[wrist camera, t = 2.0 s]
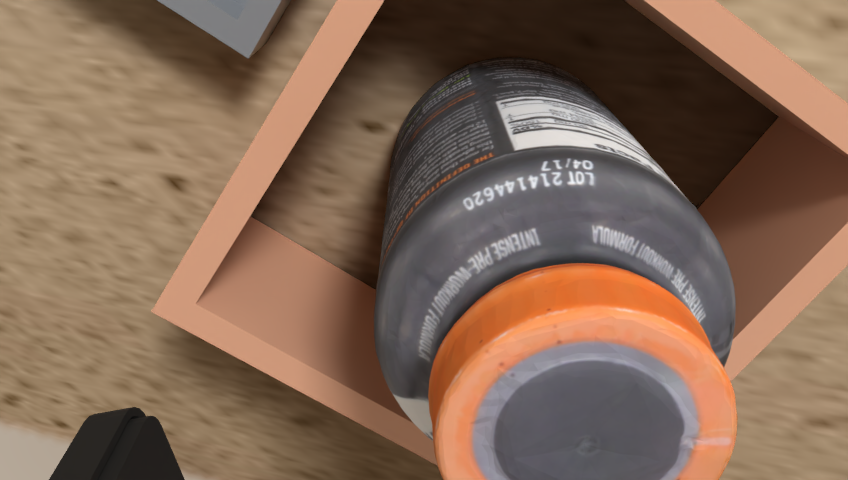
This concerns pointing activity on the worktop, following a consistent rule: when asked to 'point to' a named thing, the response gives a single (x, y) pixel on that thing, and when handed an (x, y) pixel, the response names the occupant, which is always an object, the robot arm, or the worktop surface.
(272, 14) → the charcoal tray
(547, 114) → the pill bottle
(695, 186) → the worktop surface
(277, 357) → the frame
